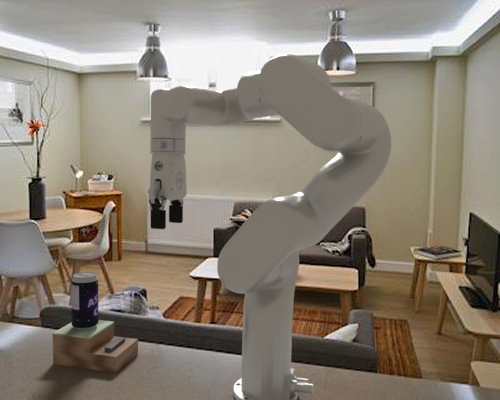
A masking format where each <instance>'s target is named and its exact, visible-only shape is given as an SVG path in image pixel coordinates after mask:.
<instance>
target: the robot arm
mask: <svg viewBox="0 0 500 400" xmlns="http://www.w3.org/2000/svg"><path fill="white" fill-rule="evenodd" d="M330 79H331V78H330V76H329V74H328V72H327V71H326V70H325V68H323V67H322V66H321V65H319V64H318V63H316V62H314V61H311V60H308V59H307V58H303V57H300V56H298V55H295V54H290V53H289V54H288V53H283V54H278V55H275V56H273V57H271V58H270V59H268V60H267V61H266V62H265V63H264V64H263V66H262V68H261V69H260V70H257V71H250V72H247V73H244V74H243V75H241V77H240V78H239V80H238V82H237V86H236V87H234V88H229V89H228V88H227V89H223V90H222V89H220V90H213V89H211V88H205V87H200V86H195V85H187V84H183V85H179V86H176V87H173V88H159V89H154V90H153V91H152V92H151V95H150V148H149V149H150V155H151V161H150V163H151V165H150V175H149V188H148V191H147V195H148V202H149V210H150V229H152V230H154V229H155V230H165V229H166V226H167V225H166V224H167V220H166V219H167V218H166V217H167V210H166V209H165V207H166V204H167V201H168V200H169V203H170V204H169V205H168V222H169V223H172V224H181V223H183V220H184V217H183V216H184V213H183V212H184V198H185V197H186V196H187V194H188V192H187V170H186V169H187V167H186V158H185V155H186V130H187V129H186V128H187V125H186V124H194V125H204V126H215V127H217V126H223V125H224V126H225V125H234V124H241V123H246V122H249V121H253V120H254V119H258V118H266V117H273V116H280V117H281V118H283V119H284V121H286V122H287V123H288V124H289V125H290V126H291V127H292V128H294V129H295V130H296V132H298V133H299V134H300V135H301V136H302V137H303V138H305V139H306V140H307V141H308V142H309V143H311V145H314V147H317V148H319V149H322V150H324V151H329V152H337V154H335V156H333V158H332V159H330V160H329V161H328V162H327V163H326V164H324V165H322V167H321V168H319V170H317V172H316V173H315V174H314V175H313V176H312V178H311V179H310V180H308V182H307V183H306V184H305V185H304V186H303V187H302V188H301V189H300V190H299V191H297V192H296V193H293V194H289V195H282V196H281V195H280V196H278V197H277V196H276V197H273V198H271V199H270V198H269V199H268V200H266V201H265V202H263V203H261V204H260V205H259V206H258V207H257V208H256V209H255V210H254V211H253V212H252V213H251V214H250V215H249V216H248V218H246V220H245V221H244V222H243V223H242V225H240V227H239V228H238V229H237V230H236V231H235V232H234V233H233V235H232V236H231V237H230V238H229V240H228V241H227V242H226V243H225V244H224V246H223V247H222V249H221V251H220V253H219V255H218V258H217V267H216V269H217V275H218V279H219V280H220V282H221V284H222V286H223V287H225V289H227V290H229V291H230V292H232V293H236V294H240V295H241V294H242V295H244V299H243V308H242V310H243V312H242V313H243V314H242V336H241V337H242V338H241V339H242V343H241V345H242V347H241V348H242V349H241V377H240V378H239V379H238V380H237V381H235V383H234V384H233V388H232V393H233V397H234V399H235V400H298V398H299V397H298V396H299V393H301V394H305V395H314V383H309V378H307V377H297V375H295V368H292V348H293V347H292V346H293V344H292V341H293V340H292V338H293V337H292V336H293V318H294V299H295V292H296V291H295V290H296V283H297V279H298V274H299V270H300V269H299V268H300V255H299V251H301V250H304V249H308V248H310V247H313V246H315V245H317V244H318V243H320V242H321V241H322V240H323V239H324V238H325V237H326V236H327V234H328V233H329V232H330V231H331V230H332V229H333V228H334V227H335V226H336V225H337V224H338V223H339V222H341V220H342V219H343V218H344V217H345V216H346V215H347V214H348V213H349V212H350V210H352V209H353V207H354V206H355V205H356V204H358V202H359V201H360V200H361V199H362V198H363V197H364V196H365V195H366V194H367V193H368V192H369V191H370V190H371V189H372V187H373V186H374V185H375V184H376V183H377V181H378V180H379V179H380V177H381V176H382V174H383V173H384V171H385V169H386V168H387V165H388V163H389V161H390V160H389V159H390V156H391V151H392V137H391V130H390V126H389V125H388V122H387V120H386V118H385V117H384V116H383V114H382V113H381V111H379V110H378V109H377V108H376V107H374V106H373V105H372V104H369V103H367V102H365V101H361V100H356V99H353V98H349V97H346V96H344V95H341V94H340V93H339V92H338V91H337V90H335V89H334V88H332V85H331V80H330Z"/></svg>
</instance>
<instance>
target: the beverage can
mask: <svg viewBox="0 0 500 400" xmlns="http://www.w3.org/2000/svg"><path fill="white" fill-rule="evenodd" d="M70 285H71V286H70V289H71V290H70V292H71V294H70V296H71V297H70V300H71V303H70V306H71V322H72V326H73V327H75V329H76V330H81V331H84V330H90V329H93V328H94V327H95V326H96V325H97V324H98V320H99V278H98V276H97V273H96V272H94V271H83V272H82V271H81V272H76V273H73V275H72V279H71V281H70Z"/></svg>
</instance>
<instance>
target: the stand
mask: <svg viewBox="0 0 500 400" xmlns="http://www.w3.org/2000/svg"><path fill="white" fill-rule="evenodd" d="M137 355H139V339H138V338H132V337H131V338H130V337H124V336H123V337H121V336H115V321H111V320H101V319H98V324H97V325H96V326H95V327H94V328H93V329H90V330H84V331H81V330H76V329H75V327H73V326H72V321H71V322H70V323H67V324H66V325H64V326H62V327H61V328H59V329H57V330H56V331H54V332H52V364H53V365H57V366H64V367H71V368H78V369H85V370H92V371H100V372H106V373H114V374H116V373H118V372H119V371H120V370H121V369H122V368H123V367H125V366H126V365H127V364H129V362H130V361H131V360H132V359H134V358H135V357H137Z"/></svg>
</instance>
